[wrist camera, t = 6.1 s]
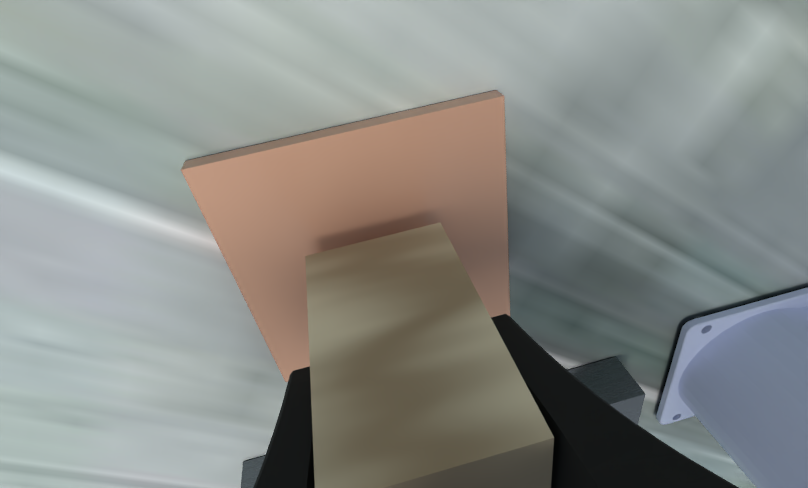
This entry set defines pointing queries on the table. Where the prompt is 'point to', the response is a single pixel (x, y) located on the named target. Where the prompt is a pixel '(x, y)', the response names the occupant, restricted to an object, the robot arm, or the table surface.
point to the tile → (357, 204)
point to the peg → (414, 374)
